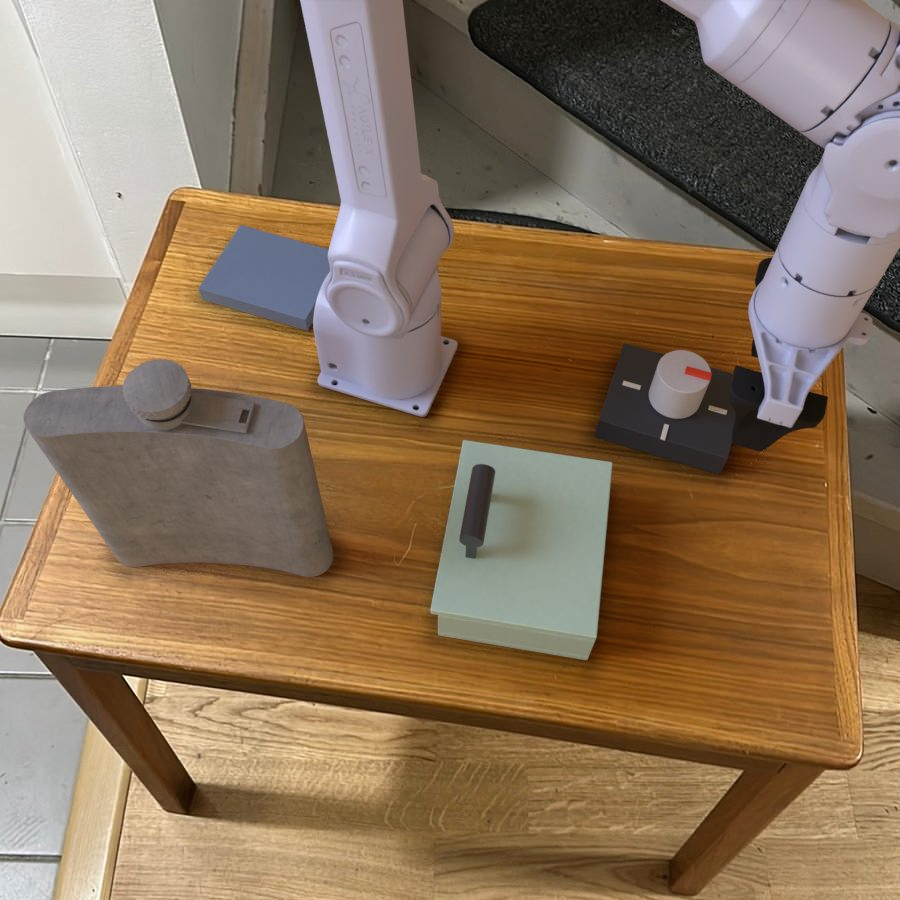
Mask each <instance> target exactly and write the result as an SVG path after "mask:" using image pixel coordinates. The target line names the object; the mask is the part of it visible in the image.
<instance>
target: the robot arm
mask: <svg viewBox="0 0 900 900" xmlns="http://www.w3.org/2000/svg"><path fill="white" fill-rule="evenodd" d="M299 1H300V7H301V12H302V17H303V21H304V25H305V32H306V36H307V40H308V46H309V52H310V55H311V60H312V65H313V66H312V67H313V70H314V74H315V75H314V76H315V80H316V85H317V89H318V94H319V95H318V96H319V100H320V104H321V109H322V114H323V120H324V123H325V124H324V125H325V129H326V134H327V140H328V145H329V148H330V153H331V158H332V163H333V169H334V173H335V179H336V183H337V187H338V193H339V198H340V206H339V210H338V215H337V217H336V221H335V224H334V228H333V232H332V235H331V239H330V243H329V247H328V249H329V250H328V260H329V264H330V272H329V274H328V275H327V276H326V278H325V280H324V282H323V284H322V286H321V288H320V291H319V293H318V296H317V300H316V304H315V309H314V317H313V322H312V325H313V326H312V329H313V335H314V341H315V346H316V352H317V357H318V362H319V369H320V373H319V374H318V376H317V384H318V385H319V386H320V387H322V388H325V389H329V390H331V391H334V392H338V393H342V394H344V395H348V396H351V397H354V398H358V399H362V400H364V401H367V402H371V403H374V404H378V405H381V406H384V407H387V408H390V409H394V410H397V411H400V412H404V413H406V414H410V415H413V416H417V417H421V418H422V417H423V418H424V417H426V416H428V414H429V412H430V410H431V409H432V405H433V403H434V401H435V399H436V397H437V395H438V393H439V390H440V388H441V385H442V383H443V381H444V379H445V376H446V374H447V372H448V369H449V368H450V365H451V363H452V361H453V358H454V357H455V355H456V352H457V350H458V347H459V346H458V345H459V344H458V341H457V340H455V339H454V338H449V337H445V336H443V335H442V284H441V279H440V276H439V266H440V265H439V263H440V261H441V259H442V257H443V256H444V254H445V253H446V252H447V251H448V250H449V249H450V248H451V245H452V244H453V241H454V239H455V238H454V236H455V227H454V223H453V222H454V221H453V220H452V218H451V216H450V214H449V213H448V212H447V209H446V208H445V206H444V205H443V203H442V200H441V197H440V192H439V191H440V190H439V182H438V181H437V180H436V179H434V178H433V177H430V176H428V175H426V174H424V173H422V169H421V168H422V167H421V159H420V149H419V142H418V141H419V140H418V131H417V130H418V129H417V122H416V121H417V120H416V113H415V104H414V103H415V102H414V94H413V85H412V75H411V66H410V56H409V47H408V38H407V29H406V20H405V10H404V1H403V0H299ZM660 1H661V2H663V3H664V4H666V5H668V6H669V7H670V8H672V9H674V10H675V11H677V12H679V13H680V14H681V15H684V16H685V17H687V18H688V19H690V20H692V21H693V22H694V23H695V26H696V30H697V34H698V35H697V36H698V39H699V45H700V50H701V57H702V60H703V63H704V64H705V65H706V66H707V67H708V68H710V69H711V70H713V71H714V72H715V73H717V74H719V75H720V76H721V77H723V78H724V79H726V80H727V81H728V82H730V83H731V84H732V85H734V86H735V87H736V88H738V89H740V91H742V92H744V93H745V94H746V95H748V96H749V97H751V98H752V99H753V100H755V102H757V103H758V104H760V105H762V106H763V107H765V109H767V110H768V111H770V112H771V113H772V114H774V115H775V116H777V117H778V118H779V119H780V120H782V121H783V122H785V123H786V124H788V125H789V126H790V127H792V128H793V129H794V130H796V131H797V132H799V133H800V134H802V135H803V136H804V137H806V138H807V139H808V140H810V141H811V142H813V143H815V144H816V145H818V146H819V147H821V148H823V149H824V152H823V154H822V156H821V157H820V158H821V159H820V160H819V163H818V165H817V166H816V167H814V169H813V170H812V172H811V173H810V174H809V175H808V177H807V179H806V182H805V184H804V186H803V189H802V191H801V193H800V195H799V198H798V200H797V202H796V204H795V206H794V209H793V212H792V213H791V216H790V218H789V220H788V223H787V224H786V226H785V229H784V232H783V233H782V236H781V238H780V240H779V242H778V245H777V247H776V249H775V252H774V253H773V256H772V257H766V258H763V259H762V260H761V261H760V262H759V263H758V265H757V269H756V270H757V271H756V273H755V274H756V275H755V279H754V285H755V289H754V290H753V293H752V295H751V297H750V299H749V302H748V308H747V309H748V310H747V313H748V320H749V324H750V327H751V332H752V336H753V337H752V343H751V351H750V355H751V357H754V358H756V359H758V362H759V367H760V371H758V370H755V369H750V368H747V367H744V366H740V365H735V366H734V368H733V371H732V373H733V375H732V379H731V383H730V387H729V402H730V404H731V405H732V407H733V409H734V412H735V420H734V425H733V429H732V445H734V446H738V447H740V448H741V447H742V448H745V449H748V450H752V451H755V452H758V453H762V452H763V451H765V450H767V449H768V448H769V447H771V446H772V445H773V444H775V443H776V442H778V441H779V440H780V439H782V438H783V437H784V436H786V435H788V434H790V433H792V432H795V431H799V430H806V429H813V428H814V429H815V428H816V427H818V425H820V423H821V422H822V421H823V420H824V418H825V416H826V412H827V406H828V400H829V397H828V396H827V395H824V394H820V393H817V392H813V391H811V390H812V388H814V386H815V385H816V383H817V382H818V381H819V379H820V378H821V377H822V375H823V374H825V371H826V370H827V369H828V367H829V366H830V365H831V364H832V362H833V361H834V360H835V359H836V357H837V356H838V355H839V353H840V352H841V351H842V349H843V348H844V347H845V346H846V345H854V346H858V347H859V346H860V347H862V346H863V347H864V345H866V344H867V342H868V341H869V339H870V337H871V336H872V329H873V323H874V322H873V318H872V317H871V316H870V315H869V314H867V313H865V312H862V310H864V307H865V306H866V304H867V302H868V301H869V299H870V298H871V295H873V293H874V292H875V289H876V287H877V286H878V284H879V283H880V281H881V280H882V278H883V276H884V275H885V273H886V271H887V270H888V268H889V266H890V265H891V263H892V262H893V260H894V258H895V256H896V254H897V253H898V252H899V250H900V24H898V23H895V22H893V21H892V20H891V19H889V18H886V17H885V16H884V15H883V14H881V13H880V12H879V11H877V10H876V9H875V8H873V7H872V6H871V5H869V3H867V2H865V1H864V0H660ZM446 343H447V344H446ZM335 384H336V385H335ZM415 408H417V409H415Z"/></svg>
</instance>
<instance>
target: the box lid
mask: <svg viewBox="0 0 900 900" xmlns="http://www.w3.org/2000/svg"><path fill="white" fill-rule="evenodd" d="M457 464H458V465H457V469H456V475H455V480H454V486H453V490H452V496H451V501H450V507H449V511H448V517H447V521H446V527H445V531H444V538H443V542H442V546H441V547H442V548H441V553H440V556H439V564H438V569H437V573H436V578H435V584H434V588H433V593H432V600H431V604H430V614H431V615H437V616H438V615H442V616H448V617H454V618H460V619H466V620H472V621H478V622H484V623H490V624H496V625H502V626H508V627H514V628H520V629H526V630H532V631H538V632H544V633H550V634H556V635H562V636H568V637H574V638H580V639H586V640H592V641H595V642H596V640H597V637H598V630H599V619H600V609H601V608H600V607H601V606H600V605H601V597H602V584H603V575H604V574H603V573H604V563H605V553H606V542H607V541H606V540H607V532H608V531H607V530H608V519H609V509H610V498H611V486H612V475H613V462H612V461H606V460H600V459H593V458H589V457H588V458H587V457H581V456H574V455H567V454H560V453H554V452H547V451H540V450H534V449H529V448H528V449H527V448H521V447H514V446H507V445H500V444H495V443H494V444H493V443H487V442H480V441H474V440H467V439H463V440H462V444H461V450H460V454H459V459H458V463H457Z"/></svg>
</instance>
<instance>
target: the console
mask: <svg viewBox="0 0 900 900" xmlns="http://www.w3.org/2000/svg"><path fill="white" fill-rule="evenodd" d="M665 354H666V353H662V352H657V351H654V350H650V349H647V348H644V347H640V346H637V345H633V344H629V343H625V342H624V343H623V344H622V347H621V351H620V354H619V356H618V360H617V362H616V364H615V365H616V366H615V369H614V371H613V375H612V377H611V381H610V384H609V387H608V390H607V393H606V397H605V399H604V402H603V405H602V407H601V408H602V409H601V412H600V414H599V416H598V417H599V418H598V421H597V424H596V428H595V431H594V436H593V437H594V438H595V439H598V440H603V441H605V442H609V443H612V444H615V445H619V446H622V447H626V448H628V449H633V450H634V451H638V452H641V453H645V454H649V455H652V456H655V457H659V458H662V459H665V460H669V461H672V462H676V463H679V464H682V465H685V466H689V467H693V468H696V469H699V470H703V471H706V472H708V473H711V474H712V473H713V474H715V475H721V473H722V470H723V469H724V467H725V465H726V464H727V461H728V459H729V456H730V454H731V453H730V452H731V448H732V445H733V443H732V429H733V425H734V420H735V412H734V409H733V407H732V405H731V404H730V402H729V387H730V383H731V379H732V375H733V372H729V371H726V370H722V369H719V368H715V367H712V366H709V367H710V370H711V373H712V376H711V380H710V383H709V385H708V387H707V390H706V392H705V394H704V397H703V399H702V401H701V404H700V406H699V408H698V410H697V411H696V412H695V413H694V414H692V415H691V416H689V417H686V418H681V419H674V418H669V417H666V416H664V415H662V414H660V413H659V412H657V411H656V410H655V409H654V407H653V406H652V405H651V403H650V400H649V389H650V386H651V383H652V380H653V377H654V374H655V371H656V368H657V365H658V363H659V361H660V359H661V358H662V357H663V356H664V355H665Z"/></svg>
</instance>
